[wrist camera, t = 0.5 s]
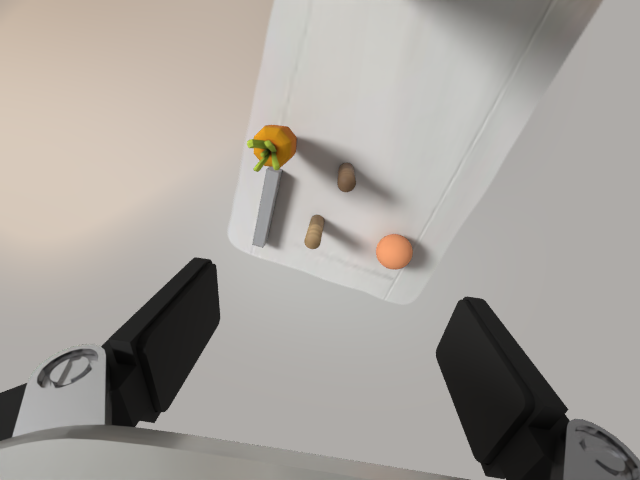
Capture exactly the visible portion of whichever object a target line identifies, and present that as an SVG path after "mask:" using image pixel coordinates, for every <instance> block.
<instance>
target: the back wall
mask: <svg viewBox="0 0 640 480" xmlns="http://www.w3.org/2000/svg"><path fill="white" fill-rule="evenodd" d="M281 174H282V170H281V169H279V170H274V168H273V167H271V166H270V167H269V168H268V169H266V175H265V180H264V185H263V191H262V196H261V201H260V207H259V212H258V218H257V223H256V228H255V234H254V239H253V244H252V245H255V246H259V247H262V248H263V247H264V246H265V244H266V242H267V239H268V234H269V230H270V225H271V220H272V216H273V211H274V206H275V202H276V197H277V193H278V188H279V183H280V179H281Z"/></svg>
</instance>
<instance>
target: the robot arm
mask: <svg viewBox="0 0 640 480" xmlns="http://www.w3.org/2000/svg"><path fill="white" fill-rule="evenodd" d="M219 321H220V308H219V296H218V283H217V270H216V265H215V264H212V261H211V260H209V259H202V258H193V259H192V260H191V261H190V262H189V263H188V264H187V265H186V266H185V267H184V268H183V269H182V270H181V271H179V272H178V274H176V275H175V276H174V277H173V278H172V279H171V280H170V281H169V282H168V283H167V284H166V285H165V286H164V287H163V288H162V289H161V290H160V291H158V292H157V293H156V294H155V295H154V296H153V297H152V298H151V299H150V300H149V301H148V302H147V303H146V304H145V305H144V306H143V307H142V308H141V309H140V310H138V311H137V312H136V313H135V314H134V315H133V316H132V317H131V318H130V319H129V320H128V321H127V322H126V323H125V324H124V325H123V326H122V327H121V328H120V329H118V330H117V331H116V333H114V334H113V335H112V336H111V337H110V338H109V340H107V341H106V342H105V343H104V344H103V345H102V346H98V345H94V344H82V345H78V346H73V347H70V348H68V349H65V350H62V351H60V352H58V353H56V354H55V355H53V356H51V357H49V358H48V359H47V360H45V361H44V362H43V363H41V364H40V365H39V366H38V367H37V368H36V369H35V370H34V371H33V372H32V374H31V376H30V378H29V380H28V382H27V383H25V384H23V385H20V386H18V387H15V388H12V389H10V390H7V391H5V392H2V393H0V480H469V479H463V478H457V477H451V476H444V475H438V474H432V473H427V472H421V471H415V470H408V469H403V468H397V467H390V466H384V465H378V464H372V463H366V462H360V461H354V460H347V459H341V458H334V457H328V456H322V455H316V454H310V453H303V452H298V451H291V450H284V449H279V448H272V447H266V446H259V445H253V444H247V443H240V442H233V441H227V440H221V439H214V438H208V437H201V436H195V435H188V434H181V433H173V432H166V431H158V430H151V429H144V428H136V427H135V426H136V425H137V423H138V422H139V421H145V422H151V423H155V421H156V419H157V418H158V416H159V415H160V413H161V412H165V411H166V410H167V409H168V408H169V406H170V405H171V403H172V401H173V400H174V398H175V396H176V395H177V393H178V392H179V390H180V388H181V387H182V385H183V383H184V382H185V380H186V378H187V376H188V375H189V373H190V371H191V370H192V368H193V367H194V365H195V363H196V361H197V360H198V358H199V356H200V355H201V353H202V351H203V350H204V348H205V346H206V345H207V343H208V341H209V340H210V338H211V336H212V335H213V333H214V331H215V330H216V328H217V326H218V324H219ZM436 358H437V361H438V364H439V366H440V369H441V372H442V374H443V377H444V380H445V382H446V385H447V387H448V390H449V393H450V395H451V398H452V400H453V403H454V406H455V408H456V411H457V414H458V416H459V419H460V421H461V424H462V427H463V429H464V432H465V434H466V437H467V440H468V442H469V445H470V447H471V450H472V453H473V455H474V457H475V459H476V460H477V461H478V462H480V463H481V465H482V468H483V470H484V473H485V475H486V476H488V477H494V478H500V479H505V478H506V480H640V460H639V459H638V458H637V457H636V456H635V454H634V453H633V452H632V451H631V450H630V449H629V448H628V447H627V446H626V445H625V444H624V443H622V442H621V441H620V440H619V439H618V438H616V437H615V436H614V435H612V434H611V433H609V432H608V431H606V430H605V429H603V428H601V427H600V426H598V425H596V424H594V423H592V422H588V421H585V420H583V419H574V420H571V421H569V419H568V418H567V417H566V415H565V413H566V412H567V410H568V409H567V407H566V406H565V405H564V403H563V402H562V401H561V399H560V398H559V397H558V396H557V394H556V393H555V392H554V390H553V389H552V388H551V386H550V385H549V384H548V382H547V381H546V380H545V378H544V377H543V376H542V375H541V373H540V372H539V371H538V369H537V368H536V367H535V366H534V364H533V363H532V361H531V360H530V359H529V357H528V356H527V355H526V354H525V352H524V351H523V350H522V348H521V347H520V346H519V344H517V342H516V341H515V339H514V338H513V337H512V335H511V334H510V333H509V331H508V330H507V329H506V327H505V326H504V325H503V324H502V322H501V321H500V320H499V318H498V317H497V316H496V314H495V313H494V312H493V310H492V309H491V308H490V306H489V305H488V304H487V303H486V301H485V300H483V299H480V298H473V297H465V298H463V300H460V301H458V303H457V305H456V308H455V310H454V312H453V314H452V316H451V318H450V321H449V323H448V325H447V327H446V329H445V332H444V334H443V336H442V338H441V340H440V343H439V345H438V347H437V350H436Z"/></svg>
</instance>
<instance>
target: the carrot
mask: <svg viewBox="0 0 640 480" xmlns="http://www.w3.org/2000/svg"><path fill="white" fill-rule="evenodd" d="M296 142H297V137H296V136H295V135H294V133H293V132H292V131H291V130H290V128H289V127H286V126H278V125H266V126H264V127H263V128H262V129H261V130H260V131H259V132H258V133H257V134H256V135H255V136H254V139H251V140H249V141H247V145H248V148H254V154H255V155H256V157H257V158H258V159H259V160H260V161H259V162H258V164H257V165H256V166H255V168H254V169H253V170H254V171H257V172H258V171H260V169H261V168H262V167H263V165H264V166H271V167H273V168H274V170H279V169H280V167H281V166H283V165H284V164H285V163H286V162H287V161H288V160H289V159H291V158H292V157H293V155H294V154H295V153H296Z"/></svg>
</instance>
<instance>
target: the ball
mask: <svg viewBox="0 0 640 480" xmlns="http://www.w3.org/2000/svg"><path fill="white" fill-rule="evenodd" d="M412 254H413V250H412V246H411V244H410V242H409V241H408V240H407V239H406V238H405V237H403V236H401V235H397V234H391V235H388V236H385V237H384V238H382V239H381V240H380V242H379V243H378V245H377V248H376V255H377V258H378V260H379V262H380V263H381V264H382V265H383V266H385V267H386V268H389V269H400V268H403V267H405V266H406V265H407V264H408V263H409V262H410V260H411V258H412Z"/></svg>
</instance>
